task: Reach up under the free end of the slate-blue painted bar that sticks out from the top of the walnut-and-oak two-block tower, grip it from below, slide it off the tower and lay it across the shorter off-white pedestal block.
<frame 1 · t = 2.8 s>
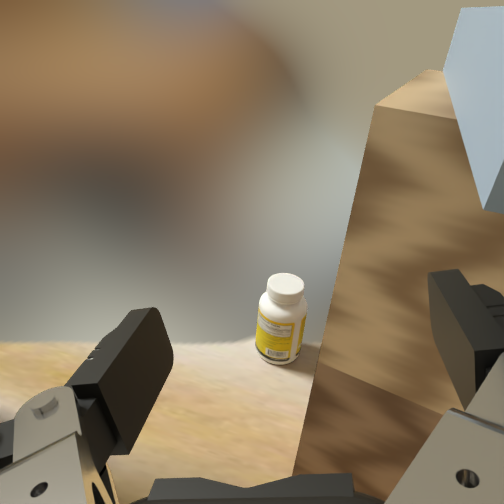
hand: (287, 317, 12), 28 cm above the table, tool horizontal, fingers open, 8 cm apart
supplement bottle: (276, 350, 50), on the table
bar: (497, 109, 19), point 32 cm above the table, touching tower
tower: (369, 447, 39), on the table
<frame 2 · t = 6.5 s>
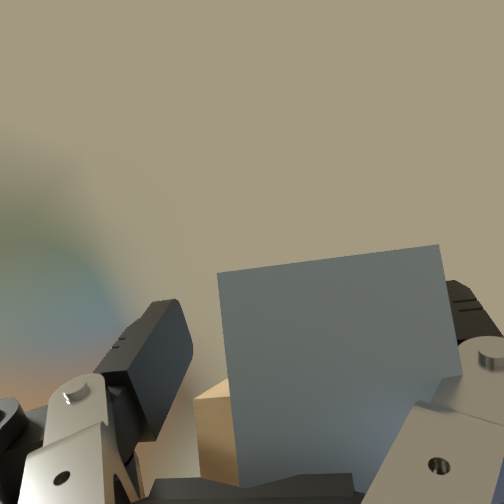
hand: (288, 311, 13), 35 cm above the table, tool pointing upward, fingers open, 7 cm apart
bar: (318, 373, 20), point 32 cm above the table, touching gripper, tower
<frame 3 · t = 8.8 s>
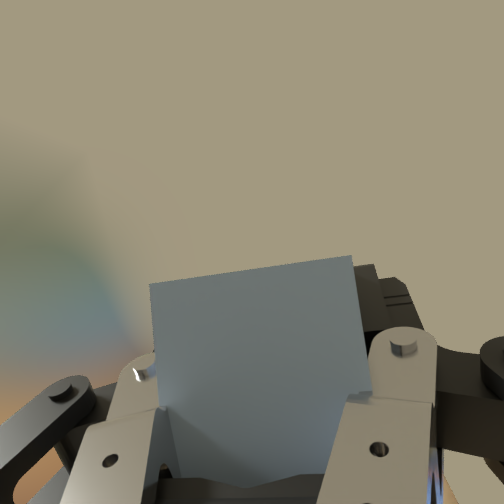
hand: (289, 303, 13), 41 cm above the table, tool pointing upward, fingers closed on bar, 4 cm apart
bar: (322, 373, 20), point 38 cm above the table, touching gripper
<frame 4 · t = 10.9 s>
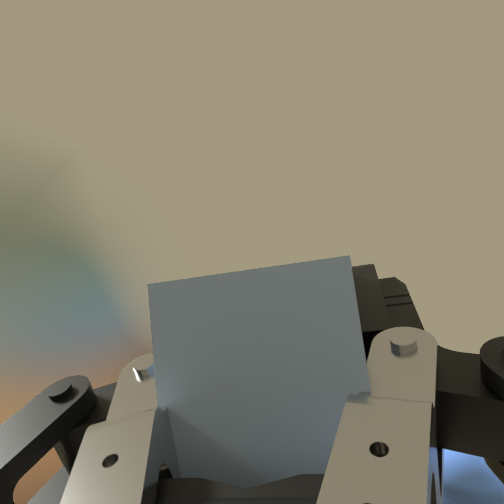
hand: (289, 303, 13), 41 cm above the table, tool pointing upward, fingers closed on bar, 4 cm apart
bar: (322, 373, 20), point 38 cm above the table, touching gripper
when the fingers open (29 cm above the table, at t = 14.6 s): bar drops 1 cm, resting on pedestal.
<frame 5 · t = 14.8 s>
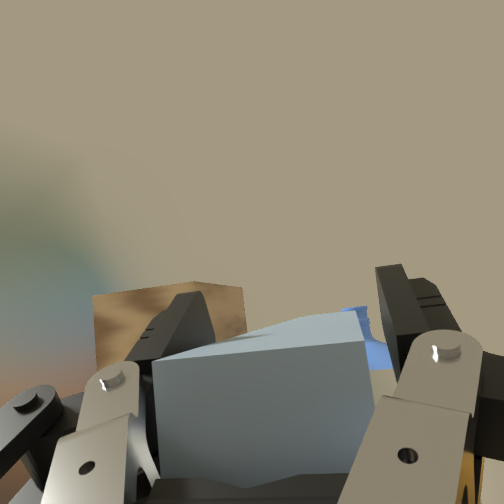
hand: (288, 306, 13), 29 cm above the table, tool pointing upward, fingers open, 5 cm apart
bar: (326, 405, 19), point 24 cm above the table, touching pedestal
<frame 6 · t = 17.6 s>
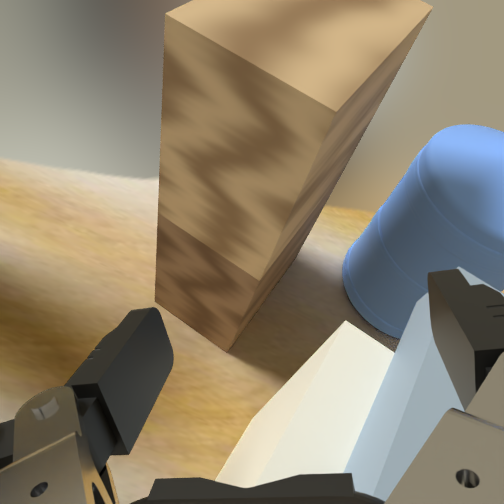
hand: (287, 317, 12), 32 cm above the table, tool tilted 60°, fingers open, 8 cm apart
water jug: (394, 288, 55), on the table
tower: (230, 278, 50), on the table
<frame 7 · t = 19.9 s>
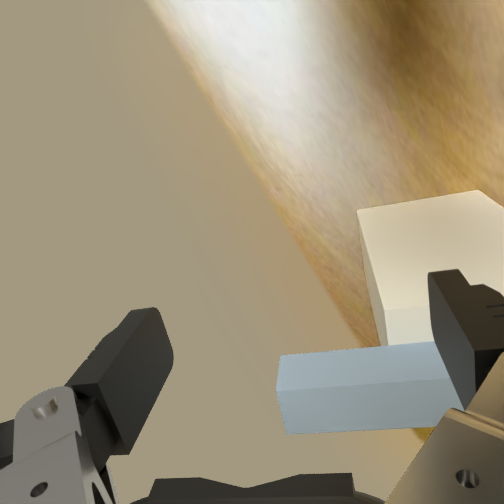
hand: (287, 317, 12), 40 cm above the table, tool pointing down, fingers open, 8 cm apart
pedestal: (418, 238, 52), on the table
bar: (459, 361, 30), point 24 cm above the table, touching pedestal
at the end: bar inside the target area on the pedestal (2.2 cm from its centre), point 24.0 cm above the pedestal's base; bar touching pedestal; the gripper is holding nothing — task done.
